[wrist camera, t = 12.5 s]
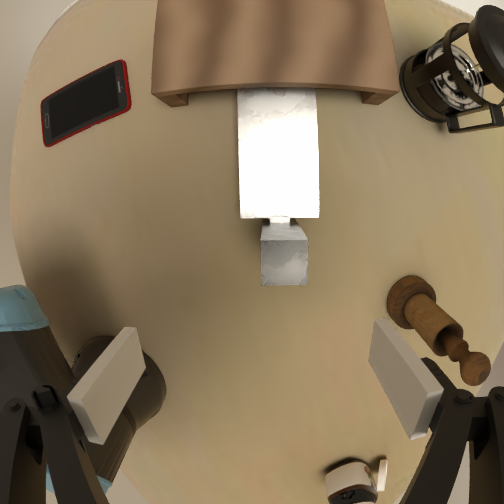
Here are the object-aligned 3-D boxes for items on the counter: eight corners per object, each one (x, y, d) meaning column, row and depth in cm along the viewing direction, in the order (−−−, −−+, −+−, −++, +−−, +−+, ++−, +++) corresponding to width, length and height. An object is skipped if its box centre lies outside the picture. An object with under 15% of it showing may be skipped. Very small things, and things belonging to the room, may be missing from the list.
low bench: (171, 107, 31) (151, 93, 25) (174, 23, 28) (158, -1, 22) (378, 105, 30) (399, 91, 23) (366, 21, 27) (382, -3, 21)
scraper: (244, 249, 35) (231, 285, 23) (239, 85, 30) (225, 41, 19) (314, 248, 34) (335, 284, 23) (310, 84, 30) (330, 41, 18)
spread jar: (317, 469, 44) (322, 517, 33) (369, 441, 42) (384, 491, 31) (348, 486, 46) (355, 529, 35) (395, 462, 44) (409, 504, 32)
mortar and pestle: (379, 292, 35) (448, 375, 18) (420, 266, 34) (508, 328, 17) (395, 330, 36) (456, 418, 19) (434, 305, 35) (509, 378, 18)
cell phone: (43, 101, 32) (39, 100, 31) (126, 59, 30) (123, 56, 29) (47, 149, 33) (43, 148, 32) (133, 110, 32) (130, 108, 31)
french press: (388, 49, 28) (491, -46, 5) (446, 53, 27) (557, -8, 4) (412, 137, 30) (560, 111, 8) (468, 135, 29) (604, 124, 7)
